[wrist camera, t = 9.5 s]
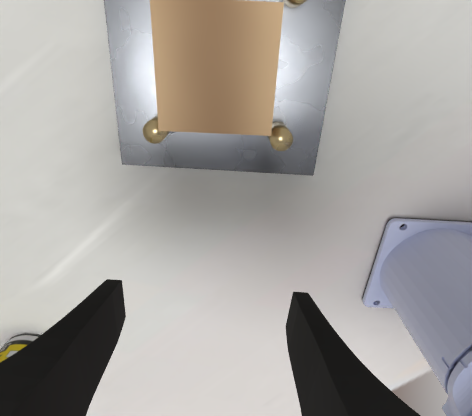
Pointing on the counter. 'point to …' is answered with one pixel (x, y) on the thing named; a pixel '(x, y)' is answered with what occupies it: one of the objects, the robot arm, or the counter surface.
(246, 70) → the oak block
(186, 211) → the counter surface
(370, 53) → the counter surface
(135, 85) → the plate
